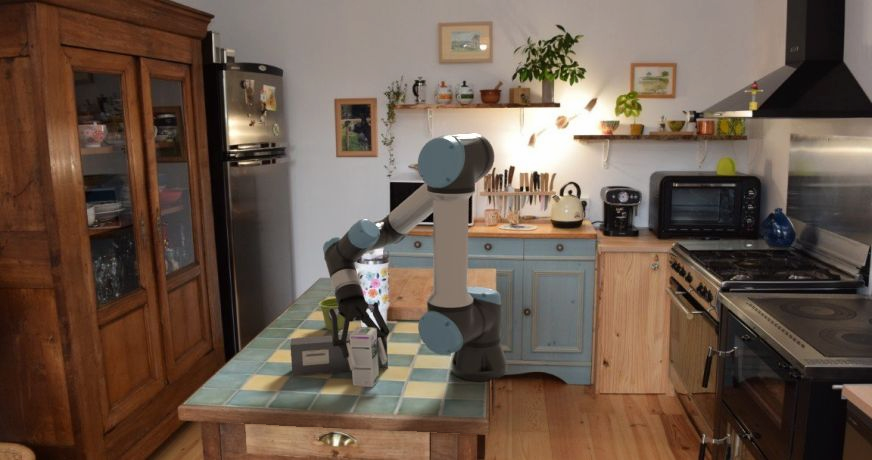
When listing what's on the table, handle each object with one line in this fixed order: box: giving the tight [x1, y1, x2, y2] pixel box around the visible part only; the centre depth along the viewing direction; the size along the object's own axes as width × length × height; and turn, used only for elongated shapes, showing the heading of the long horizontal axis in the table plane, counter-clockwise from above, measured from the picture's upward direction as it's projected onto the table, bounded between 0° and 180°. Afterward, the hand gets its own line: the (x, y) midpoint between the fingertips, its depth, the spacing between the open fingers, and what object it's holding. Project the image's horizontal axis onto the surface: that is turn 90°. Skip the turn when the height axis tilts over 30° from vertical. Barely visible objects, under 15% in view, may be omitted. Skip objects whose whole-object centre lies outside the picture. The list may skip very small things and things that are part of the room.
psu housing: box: [290, 333, 389, 377], centre depth 188 cm, size 26×6×9 cm, turn 99°
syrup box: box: [349, 326, 380, 388], centre depth 179 cm, size 6×6×14 cm
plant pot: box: [318, 297, 345, 331], centre depth 222 cm, size 9×9×9 cm
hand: (369, 364), depth 176 cm, fingers open, 8 cm apart
